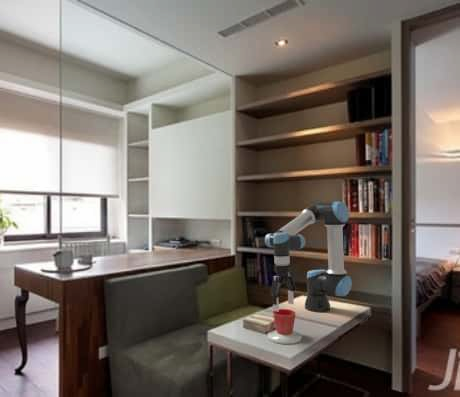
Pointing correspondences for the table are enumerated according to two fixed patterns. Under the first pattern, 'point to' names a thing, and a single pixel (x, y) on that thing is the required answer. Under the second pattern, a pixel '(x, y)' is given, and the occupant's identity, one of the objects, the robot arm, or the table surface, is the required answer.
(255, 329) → the stand
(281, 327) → the flower pot
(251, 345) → the table surface
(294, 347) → the table surface
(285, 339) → the pale grey round plate
